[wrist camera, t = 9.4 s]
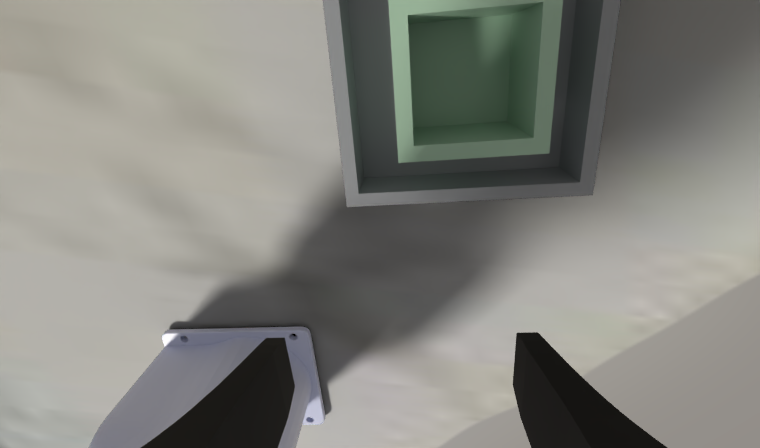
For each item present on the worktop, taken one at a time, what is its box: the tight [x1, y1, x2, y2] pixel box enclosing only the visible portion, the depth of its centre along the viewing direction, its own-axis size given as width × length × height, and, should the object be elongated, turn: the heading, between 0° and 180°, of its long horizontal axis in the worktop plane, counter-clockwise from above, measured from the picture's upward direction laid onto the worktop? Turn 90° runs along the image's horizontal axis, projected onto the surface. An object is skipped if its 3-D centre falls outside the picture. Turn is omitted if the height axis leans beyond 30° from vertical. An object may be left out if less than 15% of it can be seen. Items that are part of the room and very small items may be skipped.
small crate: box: [388, 0, 563, 163], centre depth 15 cm, size 6×6×4 cm
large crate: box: [323, 0, 621, 207], centre depth 17 cm, size 11×11×3 cm
